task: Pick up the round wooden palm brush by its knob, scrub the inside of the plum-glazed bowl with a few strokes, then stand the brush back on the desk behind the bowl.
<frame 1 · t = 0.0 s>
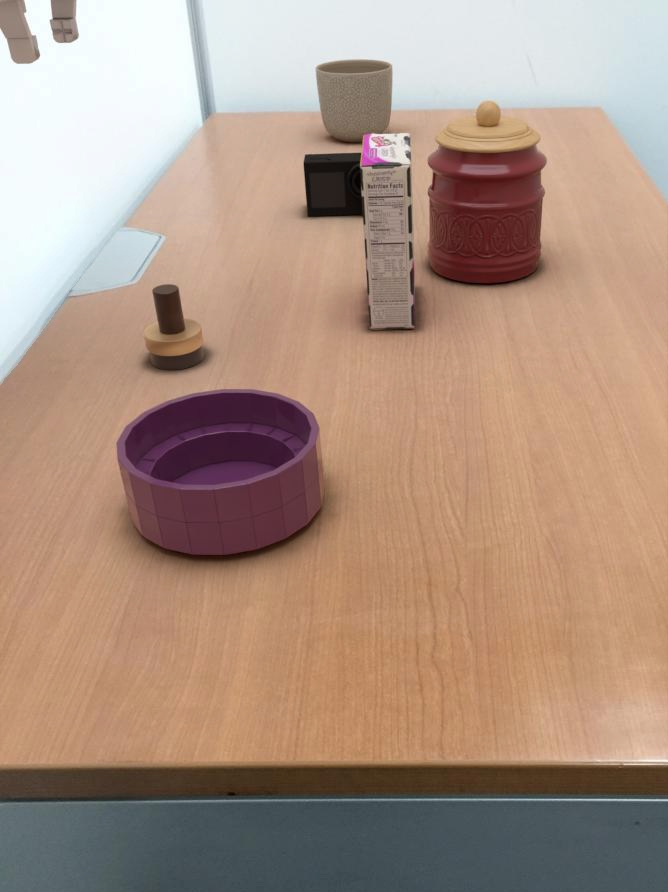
hand: (48, 51, 79), 26 cm above the table, tool pointing down, fingers open, 8 cm apart
planter: (357, 138, 160), on the table
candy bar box: (391, 311, 101), on the table
kitchen canister: (483, 266, 111), on the table
bowl: (229, 504, 72), on the table
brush: (177, 358, 92), on the table
digital camera: (346, 213, 128), on the table
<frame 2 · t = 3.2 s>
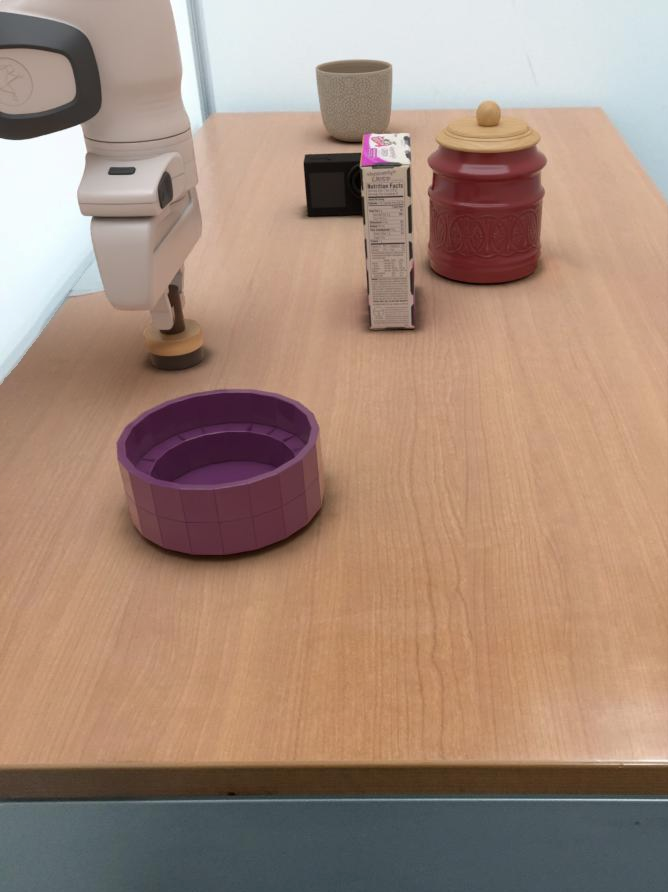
hand: (170, 318, 90), 4 cm above the table, tool pointing down, fingers closed on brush, 2 cm apart
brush: (177, 358, 92), on the table, touching gripper
everything else where it was.
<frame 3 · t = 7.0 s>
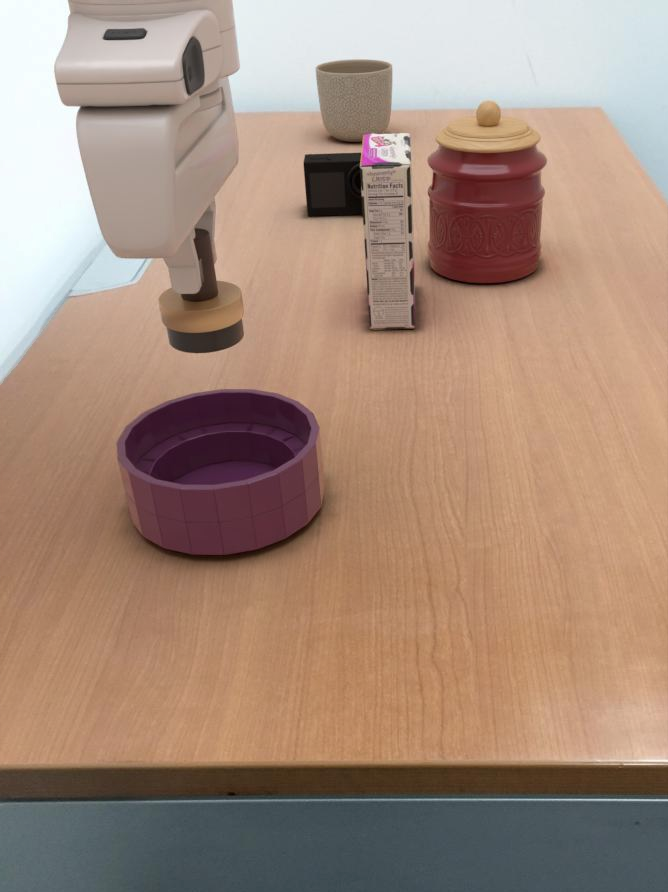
hand: (196, 279, 62), 17 cm above the table, tool pointing down, fingers closed on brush, 2 cm apart
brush: (206, 337, 64), point 13 cm above the table, touching gripper
everything else where it was.
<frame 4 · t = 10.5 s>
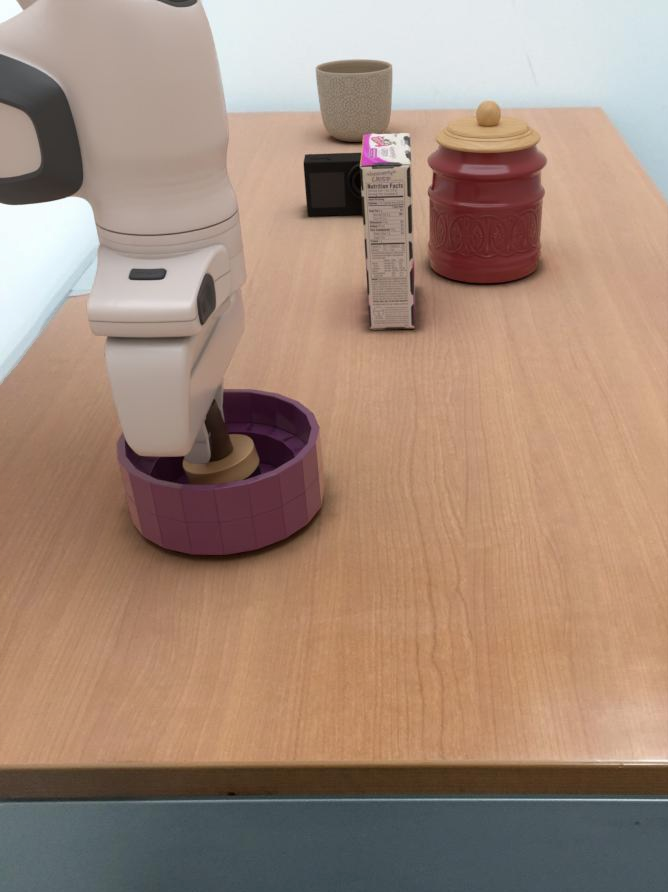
hand: (205, 445, 69), 5 cm above the table, tool pointing down, fingers closed on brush, 2 cm apart
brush: (230, 486, 71), point 1 cm above the table, tilted 11°, touching gripper
everything else where it was.
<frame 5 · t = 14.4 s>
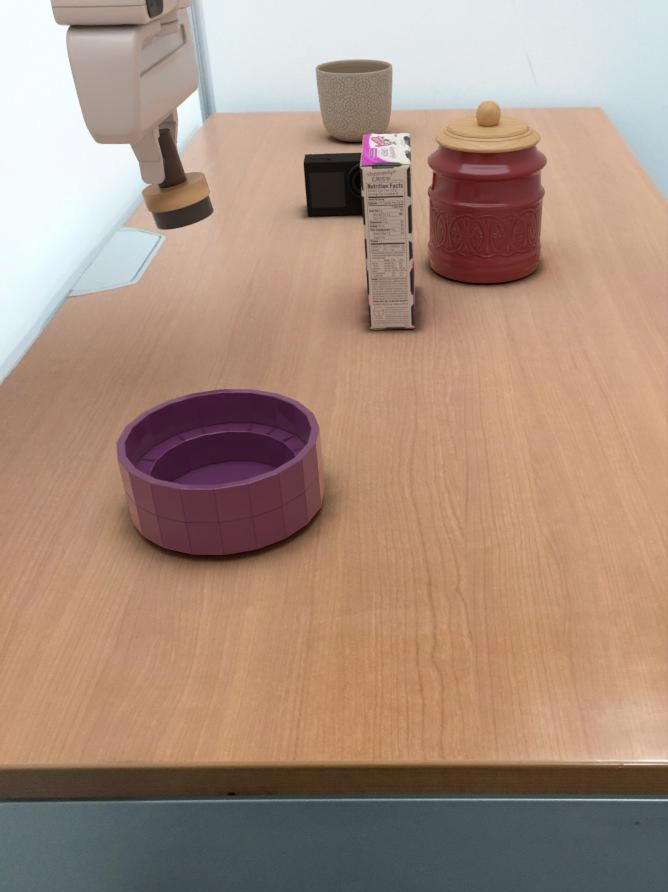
hand: (161, 175, 79), 18 cm above the table, tool pointing down, fingers closed on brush, 2 cm apart
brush: (185, 218, 81), point 15 cm above the table, tilted 11°, touching gripper
everything else where it was.
when the fingers open (4 cm above the table, at t = 17.8 s): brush stays where it is, on the table.
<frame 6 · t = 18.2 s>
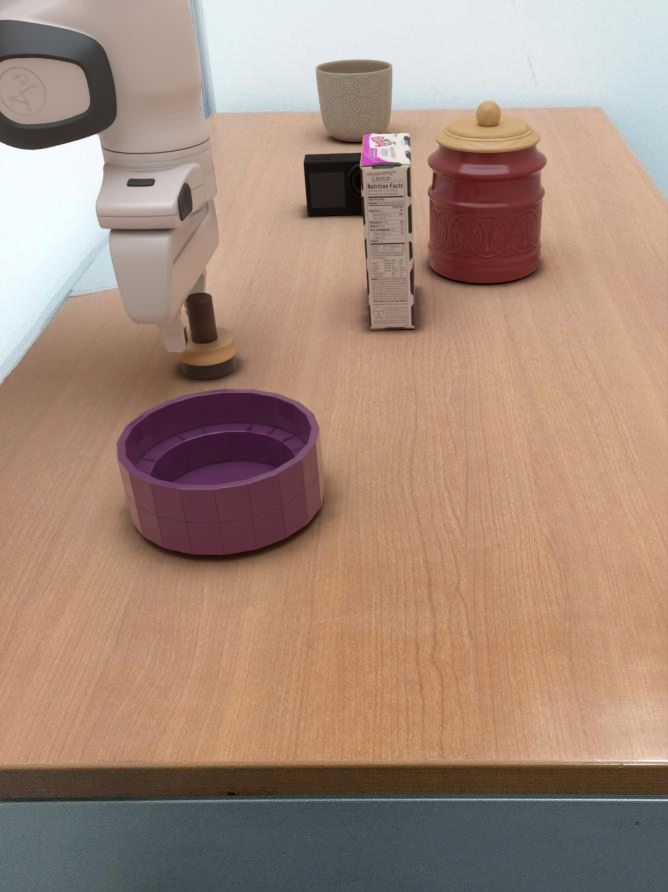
hand: (187, 330, 88), 4 cm above the table, tool pointing down, fingers open, 6 cm apart
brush: (209, 368, 90), on the table
everything else where it was.
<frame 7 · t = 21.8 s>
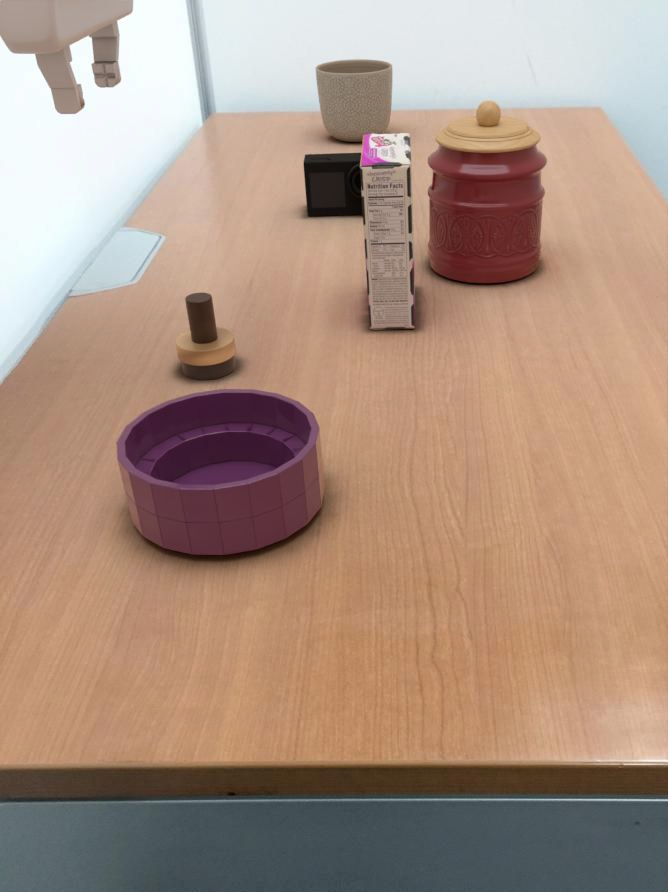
hand: (91, 98, 75), 24 cm above the table, tool pointing down, fingers open, 8 cm apart
nothing on the table moved.
at the end: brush 1.5 cm from the target spot on the table beside the bowl, on the table; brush tilted 0°; the gripper is holding nothing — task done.
